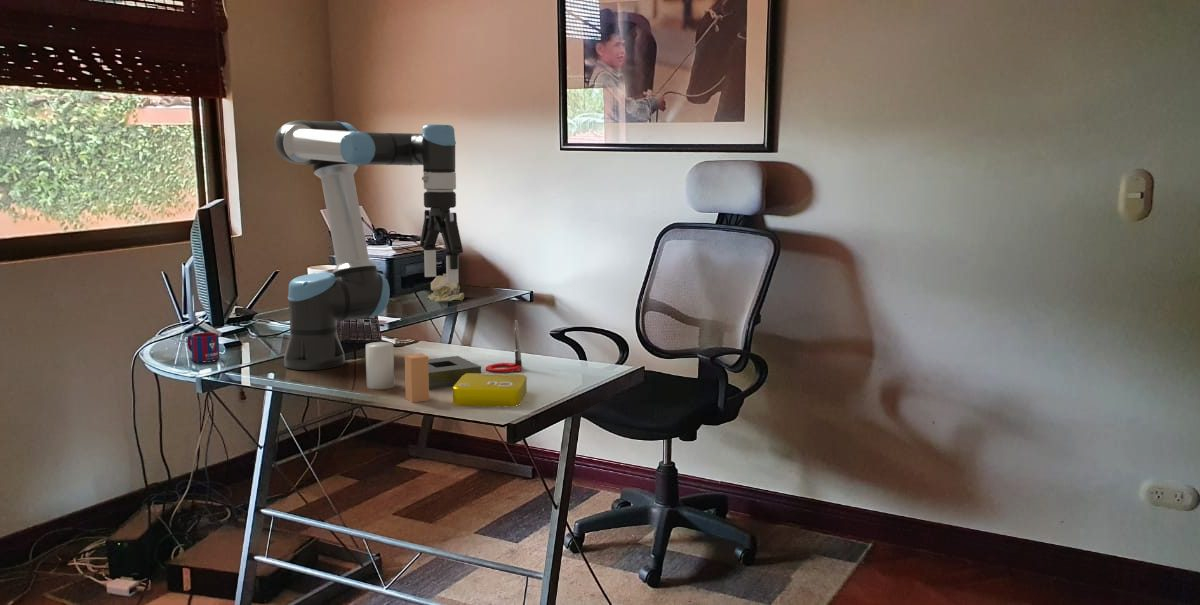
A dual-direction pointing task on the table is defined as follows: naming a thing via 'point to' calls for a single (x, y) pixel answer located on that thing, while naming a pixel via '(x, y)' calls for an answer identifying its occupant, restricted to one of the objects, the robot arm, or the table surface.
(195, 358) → the mug
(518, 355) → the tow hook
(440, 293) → the ceramic model
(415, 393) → the square peg
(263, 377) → the table surface
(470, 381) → the element tile
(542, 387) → the table surface
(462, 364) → the bore block
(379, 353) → the round peg
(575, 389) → the table surface
